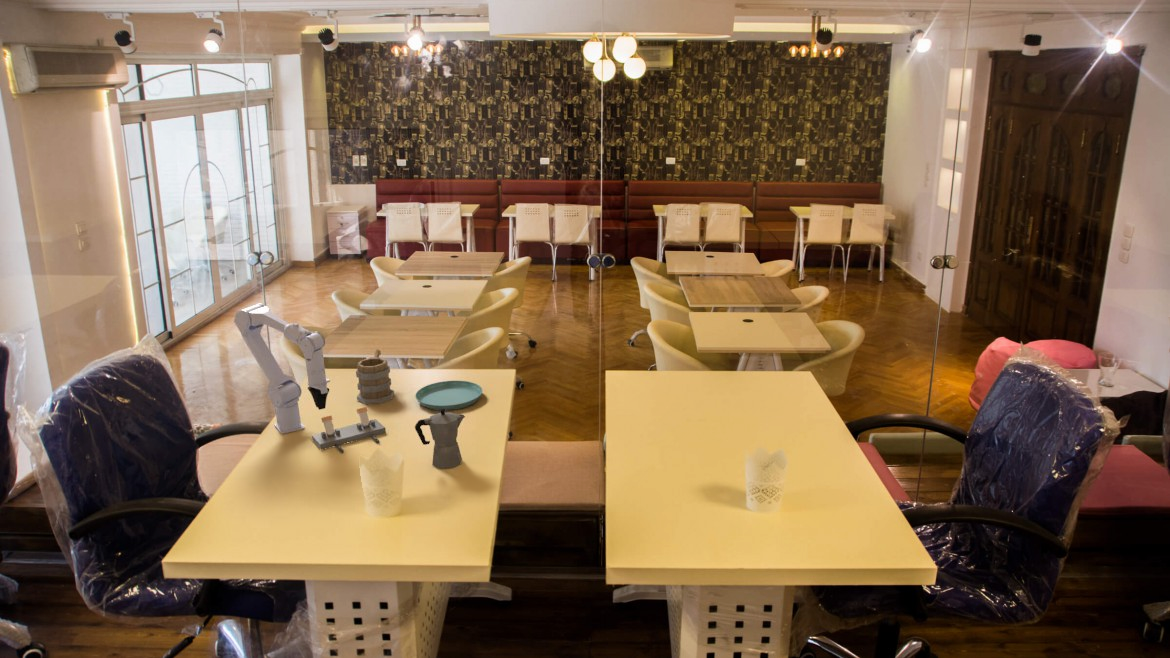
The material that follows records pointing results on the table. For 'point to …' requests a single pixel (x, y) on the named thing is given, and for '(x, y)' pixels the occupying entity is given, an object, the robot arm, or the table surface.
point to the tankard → (374, 380)
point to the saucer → (449, 395)
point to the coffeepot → (443, 438)
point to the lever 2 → (363, 417)
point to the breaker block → (349, 435)
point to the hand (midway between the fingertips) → (320, 407)
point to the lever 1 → (328, 425)
